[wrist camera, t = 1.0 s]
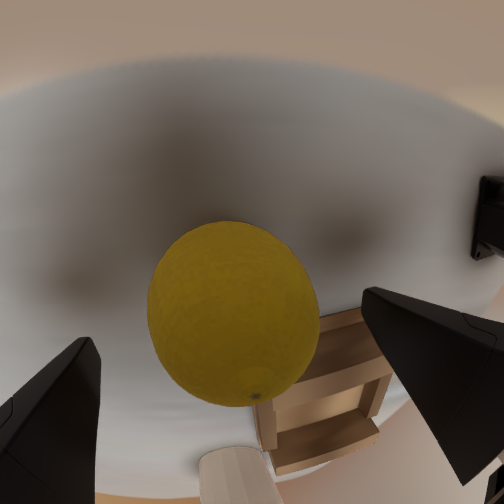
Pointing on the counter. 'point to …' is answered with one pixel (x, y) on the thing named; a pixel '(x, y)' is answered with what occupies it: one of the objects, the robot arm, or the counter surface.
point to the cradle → (327, 399)
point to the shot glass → (236, 478)
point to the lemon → (232, 314)
